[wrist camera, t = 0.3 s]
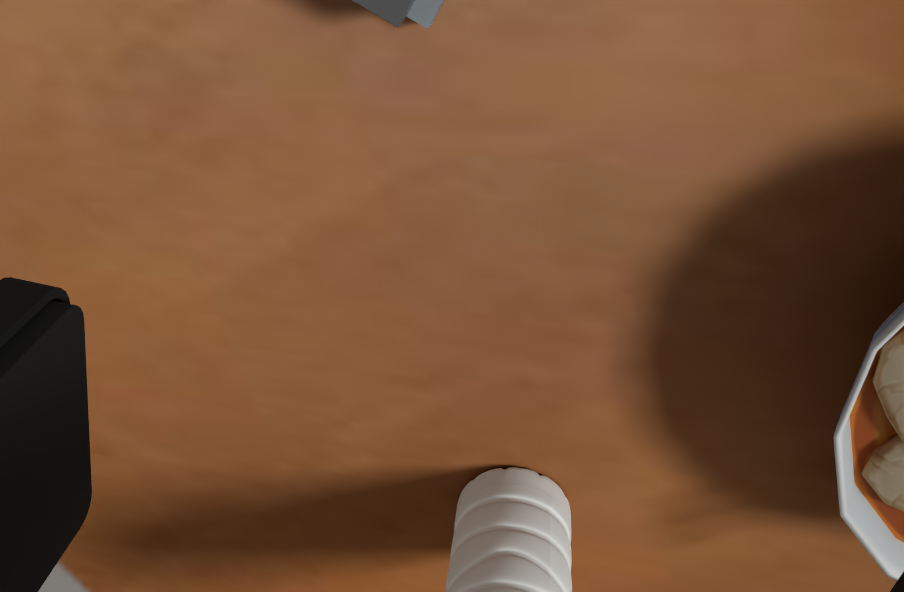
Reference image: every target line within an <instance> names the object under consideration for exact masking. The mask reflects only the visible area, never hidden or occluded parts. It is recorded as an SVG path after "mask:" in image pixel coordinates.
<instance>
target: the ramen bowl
mask: <svg viewBox="0 0 904 592" xmlns="http://www.w3.org/2000/svg"><path fill="white" fill-rule="evenodd" d="M833 441H834V452H835V464H836V475H837V486H838V498H839V509H840V517H841V518H842V519H843V520H844V522H845V523H846V524H847V526H848V527H849V528H850V529H851V531H852V532H853V533H854V535H855V536H856V537H857V538H858V540H859V541H860V542H861V544H862V545H863V546H864V547H865V549H866V550H867V551H868V553H869V554H870V555H871V556H872V558H873V559H874V560H875V562H876V563H877V564H878V565H879V567H880V568H881V569H882V571H883V572H884V573H885V574H886V576H887V577H889V578H891V579H893V580H895V581H898V579H899V578H900V576H901V575H902V573H903V572H904V302H903V303H902V304H901V305H900V306H899V307H898V308H897V309H896V310H895V311H894V312H893V313H892V314H891V315H890V316H889V317H888V318H887V319H886V320H885V321H884V322H883V323H882V325H881V326H880V327H879V328H878V330H877V331H876V332H875V334H874V336H873V339H872V341H871V343H870V346H869V348H868V350H867V353H866V355H865V357H864V360H863V362H862V365H861V367H860V369H859V372H858V374H857V376H856V379H855V381H854V384H853V386H852V388H851V391H850V393H849V395H848V398H847V400H846V402H845V405H844V407H843V410H842V412H841V414H840V418H839V421H838V424H837V427H836V430H835V434H834V437H833Z"/></svg>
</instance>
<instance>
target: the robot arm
mask: <svg viewBox="0 0 904 592" xmlns="http://www.w3.org/2000/svg"><path fill="white" fill-rule="evenodd" d="M91 495H92V486H91V464H90V442H89V419H88V397H87V375H86V353H85V330H84V316H83V312H82V310H81V308H80V307H78V306H76V305H71V304H70V301H69V297H68V295H67V293H66V291H64V290H63V289H61V288H58V287H53V286H48V285H44V284H39V283H34V282H30V281H25V280H20V279H16V278H11V277H10V278H3V279H1V280H0V592H38V591H39V589H40V588H41V586H42V584H43V583H44V582H45V580H46V579H47V577H48V576H49V574H50V573H51V571H52V569H53V568H54V567H55V565H56V564H57V562H58V561H59V559H60V558H61V556H62V555H63V553H64V552H65V550H66V549H67V547H68V546H69V544H70V543H71V541H72V540H73V538H74V537H75V535H76V534H77V532H78V531H79V529H80V527H81V526H82V524H83V522H84V520H85V518H86V515H87V513H88V510H89V506H90V502H91ZM890 592H904V572H903V573H902V575H901V576H900V578H899V579H898V581H897V582H896V584H895V585H894V587H893V588H892V590H891V591H890Z"/></svg>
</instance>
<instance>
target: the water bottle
mask: <svg viewBox="0 0 904 592" xmlns="http://www.w3.org/2000/svg"><path fill="white" fill-rule="evenodd" d="M570 543H571V512H570V506H569V502H568V500H567V498H566V497H565V496H564V493H563V491H562V490H561V488H560V487H559V486H558V485H557V484H556V483H555V482H553V481H552V480H551V479H549V478H548V477H546V476H543V475H541V476H540V475H539V474H538V473H536V472H535V471H532V470H529V469H524V468H517V467H510V468H507V469H502V468H497V469H492V470H489V471H486V472H484V473H482V474H480V475H478V476H477V477H476V478H475V479H474V480H472V481H470V482H469V483H468V484H467V485H466V486H465V488H464V489H463V491H462V492H461V494H460V497H459V500H458V504H457V509H456V517H455V525H454V536H453V540H452V546H451V555H450V565H449V569H448V574H447V582H446V592H572V580H571V573H570V572H571V546H570Z"/></svg>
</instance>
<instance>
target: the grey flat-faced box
mask: <svg viewBox="0 0 904 592" xmlns="http://www.w3.org/2000/svg"><path fill="white" fill-rule="evenodd" d="M352 1H354V2H356V3H357V4H359V5H361V6H362V7H364V8H366V9H368V10H369V11H371V12H373V13H374V14H376V15H378V16H379V17H381V18H383V19H385V20H386V21H388V22H390V23H391V24H393V25H395V26H397V27H399V26H400V25H401V23H402V22H403V21H404V19H405V18H406V17H407V15H408V13H409V11H410V9H411V7H412V5H413V3H414V1H415V0H352Z"/></svg>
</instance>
